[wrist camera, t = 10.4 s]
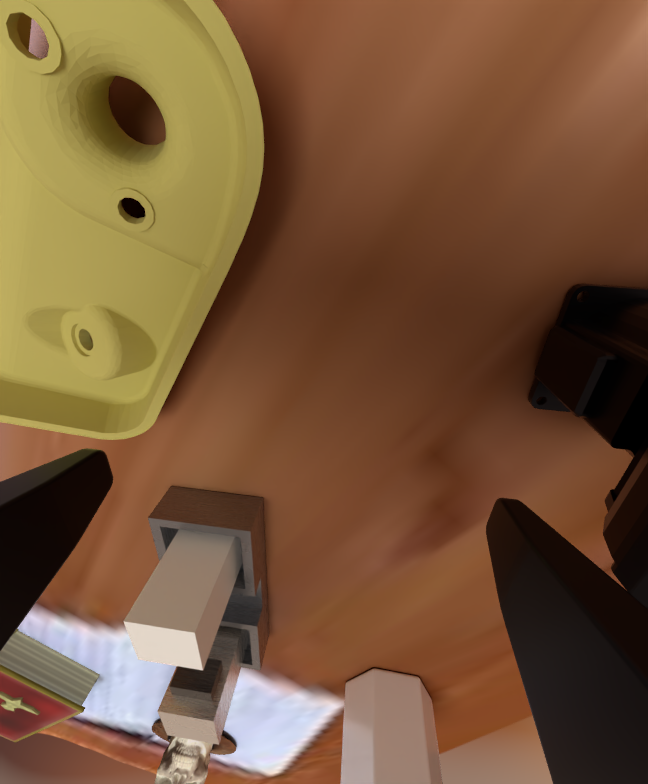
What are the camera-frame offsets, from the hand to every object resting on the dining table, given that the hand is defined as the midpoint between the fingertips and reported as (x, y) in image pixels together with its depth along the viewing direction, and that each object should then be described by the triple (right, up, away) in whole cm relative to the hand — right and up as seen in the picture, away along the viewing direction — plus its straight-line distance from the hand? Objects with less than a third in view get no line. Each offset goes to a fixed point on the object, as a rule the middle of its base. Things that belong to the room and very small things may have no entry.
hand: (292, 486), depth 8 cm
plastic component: (-9, +10, +10) cm, 17 cm away
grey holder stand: (-8, -13, +21) cm, 26 cm away
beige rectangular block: (-7, -9, +18) cm, 21 cm away
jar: (+7, -29, +28) cm, 41 cm away
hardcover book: (-38, -34, +37) cm, 63 cm away
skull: (-17, -46, +40) cm, 63 cm away
